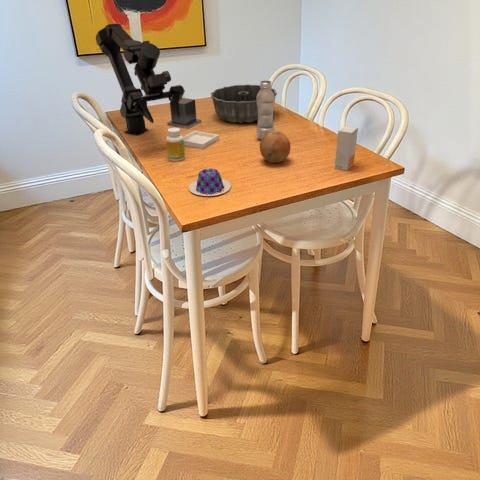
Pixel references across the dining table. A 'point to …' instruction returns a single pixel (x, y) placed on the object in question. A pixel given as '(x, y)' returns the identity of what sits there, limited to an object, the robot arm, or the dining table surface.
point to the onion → (275, 146)
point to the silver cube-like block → (184, 114)
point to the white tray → (200, 139)
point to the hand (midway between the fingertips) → (166, 119)
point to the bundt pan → (237, 102)
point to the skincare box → (346, 147)
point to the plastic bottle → (265, 109)
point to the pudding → (209, 183)
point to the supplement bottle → (175, 145)
